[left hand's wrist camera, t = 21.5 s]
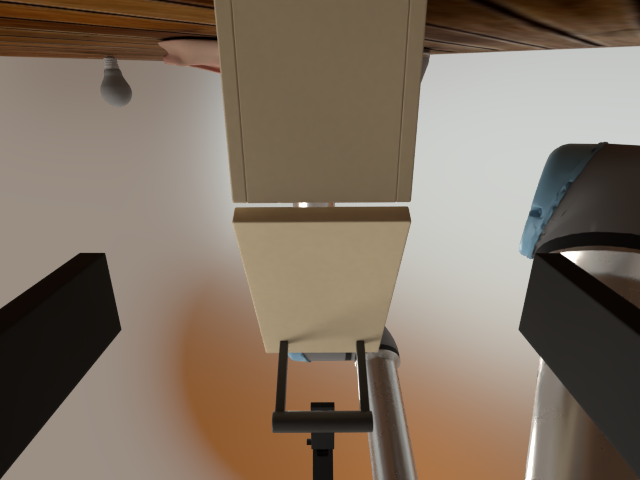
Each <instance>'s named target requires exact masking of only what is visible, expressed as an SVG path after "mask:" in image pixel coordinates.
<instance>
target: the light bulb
mask: <svg viewBox="0 0 640 480" xmlns="http://www.w3.org/2000/svg"><path fill="white" fill-rule="evenodd" d="M103 59H104V60H105V70H104V79H103V82H102V85H101V95H102V97H103V98H104V100H105V101H106V102H107V103H109V104H110V105H113V106H116V107H121V106H125V105H126V104H128V103H129V101H130V100H131V97H132V91H131V88H130V86H129V85H128V83H127V82H126V80H125V79H124V78H123V76H122V73H121V71H120V69H119V66H118V64H117V58H115V57H113V56H106V57H105V58H103Z"/></svg>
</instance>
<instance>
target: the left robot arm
mask: <svg viewBox="0 0 640 480" xmlns="http://www.w3.org/2000/svg"><path fill="white" fill-rule="evenodd" d="M519 252H520V253H521V254H522V255H524V256H527V258H529V259H533V258H534V260H533V265H532V269H531V274H530V279H529V283H528V288H527V293H526V297H525V302H524V307H523V312H522V316H521V321H520V325H519V331H520V332H521V333H522V334H523V336H524V337H525V338H526V339H527V341H528V342H529V343H530V344H531V346H532V347H533V348H534V349H535V350H536V352H537V353H538V354H539V356H540V361H539V369H538V377H537V384H536V392H535V400H534V408H533V416H532V423H531V431H530V439H529V447H528V454H527V462H526V470H525V478H524V480H640V146H638V145H621V144H608V142H603V143H602V142H601V143H598V144H566V145H562V146H560V147H559V148H557V149H555V150H554V151H553V152H552V153H551V154H550V156H549V157H548V160H547V162H546V164H545V167H544V169H543V172H542V175H541V178H540V181H539V184H538V187H537V190H536V193H535V196H534V199H533V203H532V206H531V211H530V213H529V216H528V219H527V222H526V225H525V228H524V232H523V235H522V239H521V242H520V247H519ZM120 331H121V326H120V321H119V316H118V311H117V307H116V302H115V297H114V293H113V288H112V283H111V279H110V274H109V269H108V265H107V260H106V255H105V253H79V254H78V255H76V256H75V257H74V258H72V259H71V260H69V261H68V262H66V263H65V264H63V265H62V266H61V267H59V268H58V269H56V270H55V271H54V272H52V273H51V274H49V275H48V276H46V277H45V278H44V279H42V280H41V281H39V282H38V283H37V284H35V285H34V286H32V287H31V288H29V289H28V290H26V291H25V292H24V293H22V294H21V295H19V296H18V297H17V298H15V299H14V300H12V301H11V302H9V303H8V304H7V305H5V306H4V307H2V308H1V309H0V479H1V478H2V476H3V475H4V474H5V473H6V472H7V470H8V469H9V468H10V467H11V465H12V464H13V463H14V462H15V460H16V459H17V458H18V457H19V455H20V454H21V453H22V452H23V451H24V449H25V448H26V447H27V446H28V444H29V443H30V442H31V441H32V439H33V438H34V437H35V436H36V435H37V433H38V432H39V431H40V430H41V428H42V427H43V426H44V425H45V423H46V422H47V421H48V420H49V418H50V417H51V416H52V415H53V413H54V412H55V411H56V410H57V409H58V407H59V406H60V405H61V404H62V402H63V401H64V400H65V399H66V397H67V396H68V395H69V394H70V393H71V391H72V390H73V389H74V388H75V386H76V385H77V384H78V383H79V381H80V380H81V379H82V378H83V376H84V375H85V374H86V373H87V371H88V370H89V369H90V368H91V367H92V365H93V364H94V363H95V362H96V360H97V359H98V358H99V357H100V355H101V354H102V353H103V352H104V351H105V349H106V348H107V347H108V346H109V344H110V343H111V342H112V341H113V339H114V338H115V337H116V336H117V334H118V333H119V332H120Z"/></svg>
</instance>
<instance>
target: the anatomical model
mask: <svg viewBox="0 0 640 480" xmlns="http://www.w3.org/2000/svg"><path fill="white" fill-rule="evenodd" d="M158 44H159V45H160V46H161V47H163V48H164V49H165V50H166V51H167V52H168V54H167V55H166V56H165V57H164V62H165V63H166V64H170V65H178V66H190V67H195V68H199V69H204V70H208V71H212V72H216V73H220V74H221V72H220V61H219V50H218V40H206V39H174V40H166V41H160V42H158Z"/></svg>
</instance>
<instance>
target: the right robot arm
mask: <svg viewBox="0 0 640 480" xmlns="http://www.w3.org/2000/svg"><path fill="white" fill-rule="evenodd" d="M429 57H430V50H429V49H423V60H422V72H421V81H422V78H423V76H424V73H425V71H426V68H427V65H428V62H429ZM293 207H335V203H293ZM288 355H289V357H290V358H291V359H292V360H295V361H306V362H311V361H344V360H354V361H355V367H356V369H357V356H356V352H341V353H288ZM365 355H366V368H367V381H368V393H369V406H370V411H372V414H373V432H368V439H369V448H370V457H371V465H372V474H373V480H418V477H417V471H416V466H415V461H414V456H413V451H412V445H411V440H410V435H409V430H408V425H407V419H406V414H405V409H404V403H403V398H402V393H401V388H400V382H399V377H398V372H397V368H398V367H399V366H400V357H399V352H398V348H397V346H396V343H395V341H394V339H393V337H392V336H391V334H390V332H389V331H388V330H387V328H386V327H384V331H383V335H382V339H381V342H380V346H379V350H378V352H365ZM311 411H334V402H312V403H311ZM307 445H311V448H312V449H313V480H333V449H334V432H323V433H311V439H307Z"/></svg>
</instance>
